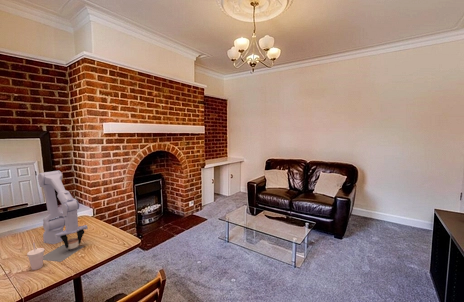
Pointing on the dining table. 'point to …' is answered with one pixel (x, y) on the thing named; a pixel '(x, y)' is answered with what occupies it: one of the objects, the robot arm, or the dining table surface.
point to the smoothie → (36, 257)
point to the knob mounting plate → (61, 253)
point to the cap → (73, 243)
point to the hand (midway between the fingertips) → (73, 245)
